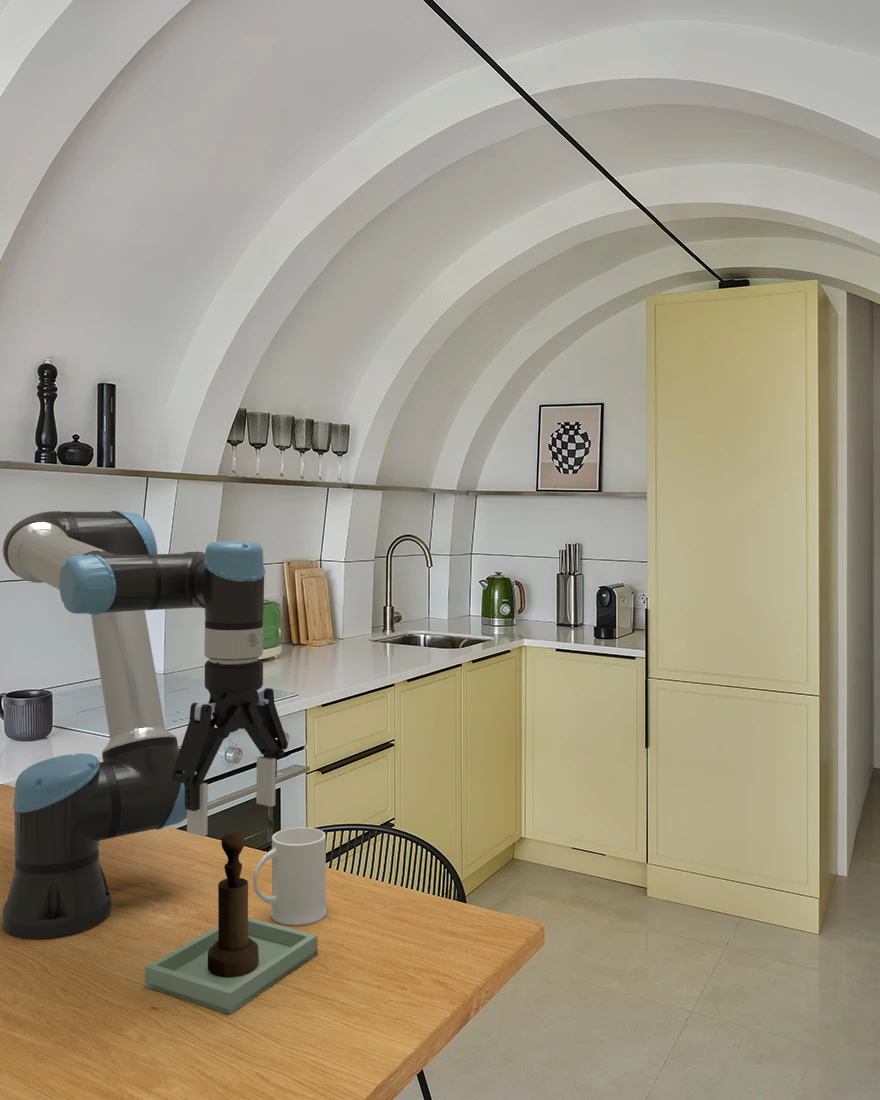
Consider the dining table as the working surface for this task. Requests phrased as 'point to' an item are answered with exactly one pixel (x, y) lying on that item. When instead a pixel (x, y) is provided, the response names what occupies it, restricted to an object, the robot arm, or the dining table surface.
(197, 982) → the tray
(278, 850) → the mug
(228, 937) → the wooden pepper mill
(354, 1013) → the dining table surface
